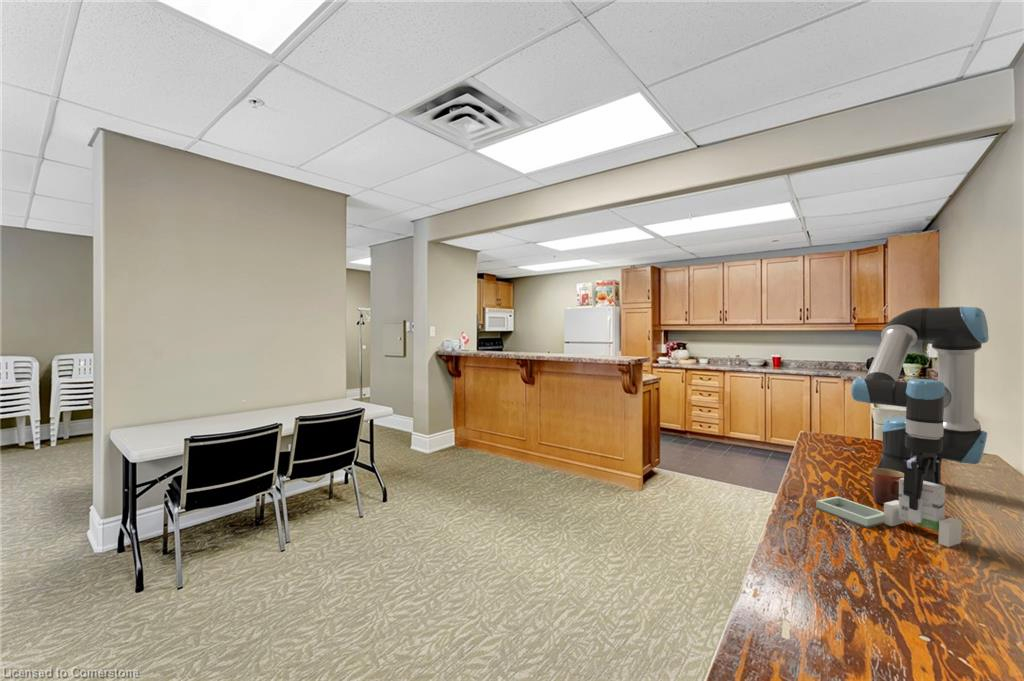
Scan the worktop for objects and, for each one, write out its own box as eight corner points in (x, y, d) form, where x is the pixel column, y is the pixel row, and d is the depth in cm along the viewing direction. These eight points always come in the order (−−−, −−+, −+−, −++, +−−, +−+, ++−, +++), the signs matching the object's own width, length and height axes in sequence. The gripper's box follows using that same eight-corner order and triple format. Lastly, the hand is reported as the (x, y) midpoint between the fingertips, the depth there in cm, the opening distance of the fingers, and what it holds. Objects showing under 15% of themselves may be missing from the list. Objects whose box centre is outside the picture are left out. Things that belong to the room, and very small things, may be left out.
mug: (864, 497, 144) (865, 467, 144) (894, 499, 142) (895, 469, 142) (887, 512, 132) (888, 479, 132) (920, 515, 131) (922, 481, 130)
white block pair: (895, 520, 127) (896, 500, 127) (961, 542, 114) (961, 520, 113) (883, 523, 125) (884, 502, 125) (948, 547, 111) (949, 524, 111)
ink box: (945, 528, 117) (947, 485, 116) (937, 532, 114) (938, 488, 114) (905, 515, 124) (907, 475, 124) (897, 518, 122) (898, 477, 122)
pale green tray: (837, 504, 138) (837, 496, 138) (888, 522, 125) (888, 513, 125) (816, 508, 135) (816, 500, 135) (866, 528, 122) (867, 519, 122)
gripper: (925, 429, 125) (923, 508, 126) (887, 435, 119) (885, 518, 120) (960, 435, 118) (957, 518, 119) (921, 442, 112) (918, 530, 113)
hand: (921, 518), depth 119 cm, fingers closed on ink box, 5 cm apart
